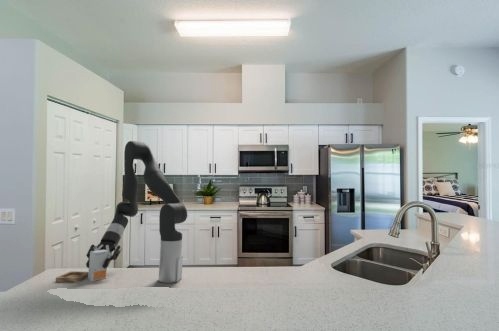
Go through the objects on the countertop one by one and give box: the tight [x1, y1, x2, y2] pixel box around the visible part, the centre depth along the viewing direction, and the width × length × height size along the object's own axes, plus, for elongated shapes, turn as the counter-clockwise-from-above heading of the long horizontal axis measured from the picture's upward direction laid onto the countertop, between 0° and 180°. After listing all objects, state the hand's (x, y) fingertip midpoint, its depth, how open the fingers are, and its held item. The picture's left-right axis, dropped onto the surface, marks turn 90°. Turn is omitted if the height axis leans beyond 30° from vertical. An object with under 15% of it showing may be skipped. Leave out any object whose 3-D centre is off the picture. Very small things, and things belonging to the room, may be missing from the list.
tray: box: [55, 270, 89, 284], centre depth 116 cm, size 9×9×2 cm
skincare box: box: [87, 249, 108, 282], centre depth 117 cm, size 6×4×12 cm
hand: (95, 267), depth 116 cm, fingers closed on skincare box, 6 cm apart
